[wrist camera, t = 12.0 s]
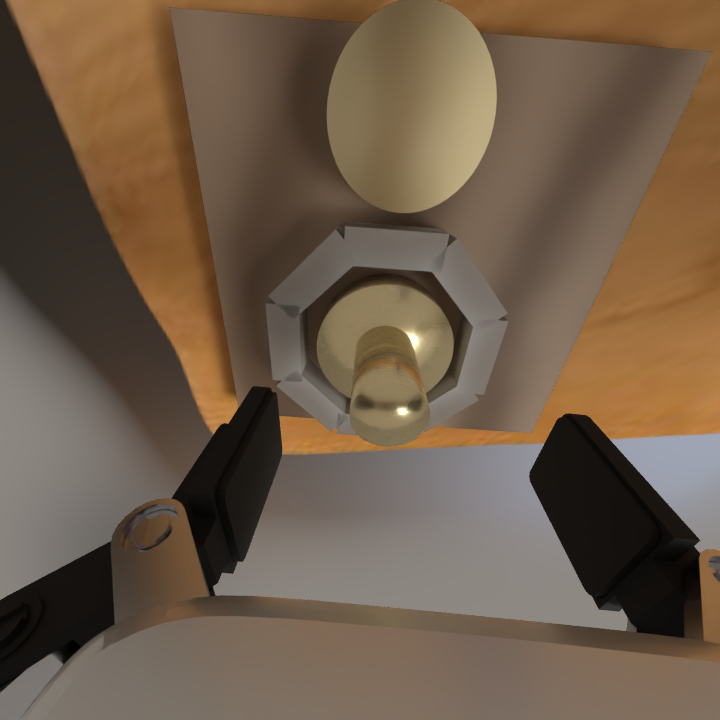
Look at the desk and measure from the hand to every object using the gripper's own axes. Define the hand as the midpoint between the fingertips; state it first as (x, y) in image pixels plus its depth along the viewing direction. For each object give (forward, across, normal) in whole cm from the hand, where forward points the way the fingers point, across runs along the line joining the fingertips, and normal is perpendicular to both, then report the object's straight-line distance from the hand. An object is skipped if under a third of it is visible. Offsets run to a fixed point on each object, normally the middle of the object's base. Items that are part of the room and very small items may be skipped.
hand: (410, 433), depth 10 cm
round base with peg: (+8, +1, 0) cm, 8 cm away
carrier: (+10, 0, -3) cm, 10 cm away
